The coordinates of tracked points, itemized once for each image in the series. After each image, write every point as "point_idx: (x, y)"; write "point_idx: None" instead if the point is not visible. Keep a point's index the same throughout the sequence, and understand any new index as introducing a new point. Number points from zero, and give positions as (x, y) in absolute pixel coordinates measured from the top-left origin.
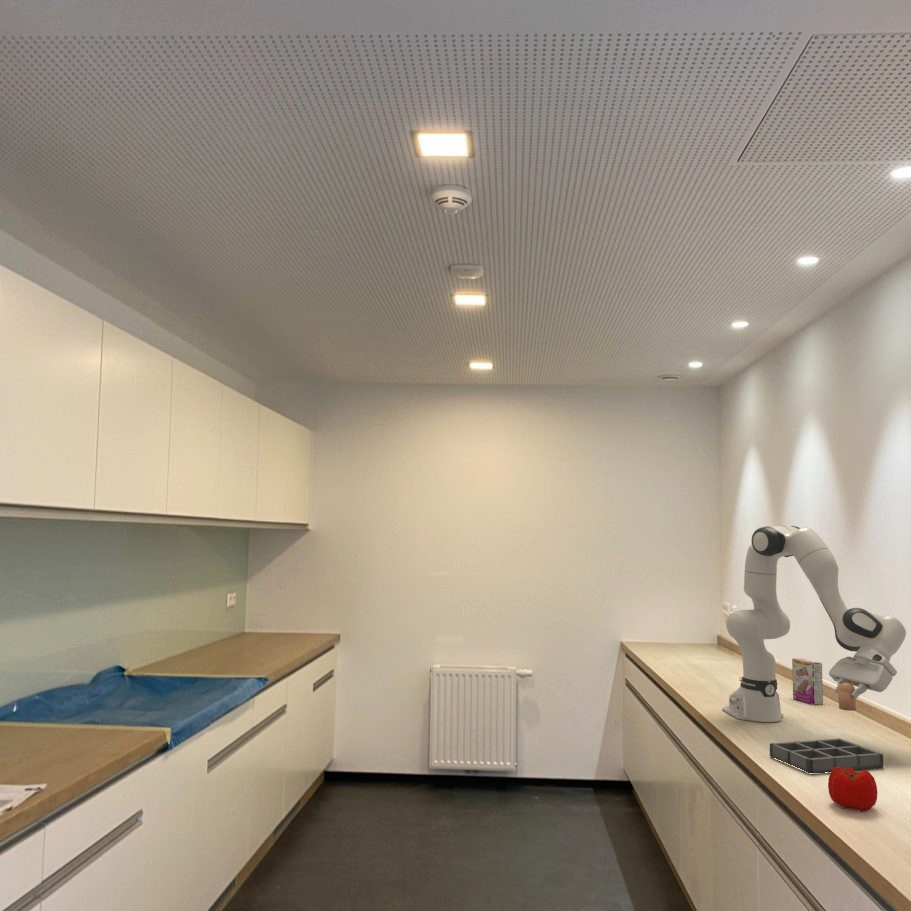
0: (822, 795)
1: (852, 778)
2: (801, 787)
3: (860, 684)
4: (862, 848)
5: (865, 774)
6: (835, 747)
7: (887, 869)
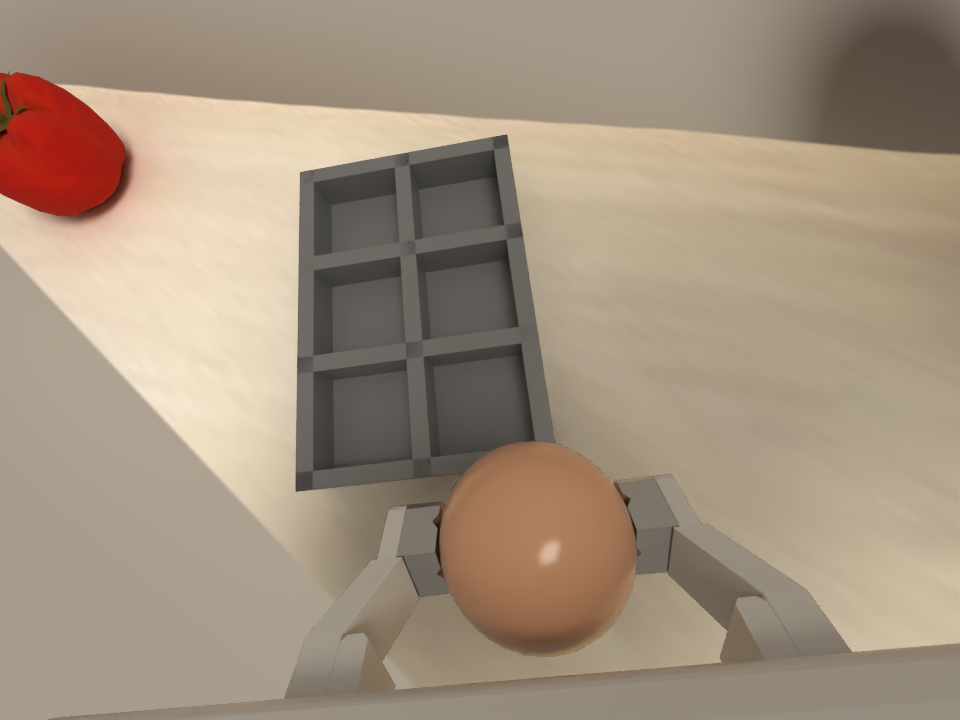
0: (178, 154)
1: None
2: (240, 134)
3: (339, 671)
4: None
5: None
6: (419, 348)
7: None
